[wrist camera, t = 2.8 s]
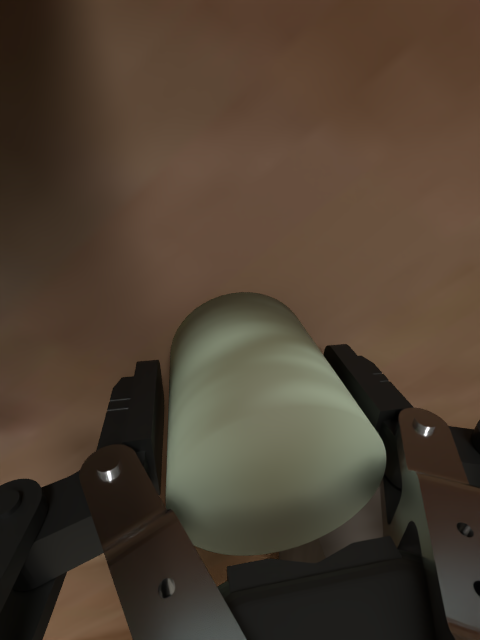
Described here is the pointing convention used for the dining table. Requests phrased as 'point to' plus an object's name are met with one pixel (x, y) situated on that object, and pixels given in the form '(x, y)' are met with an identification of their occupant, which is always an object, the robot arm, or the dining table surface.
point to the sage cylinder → (262, 432)
